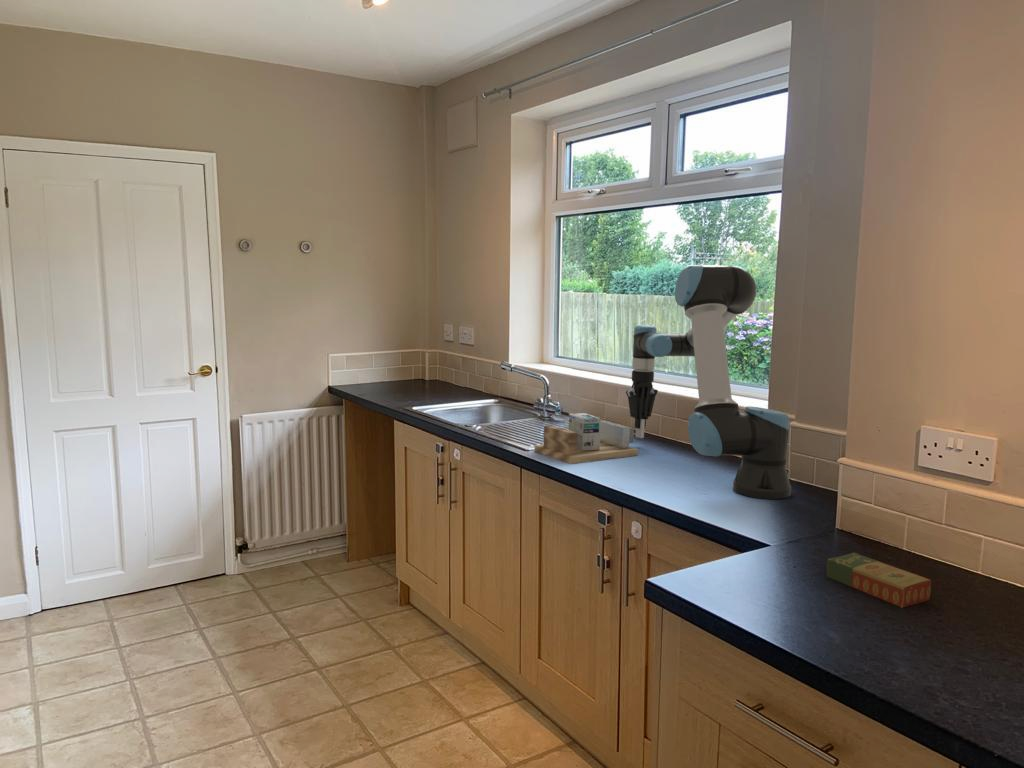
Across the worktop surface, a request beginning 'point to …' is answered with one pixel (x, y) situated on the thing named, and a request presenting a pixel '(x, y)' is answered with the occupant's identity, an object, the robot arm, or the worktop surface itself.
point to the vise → (565, 447)
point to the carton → (879, 579)
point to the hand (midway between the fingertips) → (639, 437)
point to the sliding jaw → (616, 434)
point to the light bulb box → (586, 430)
